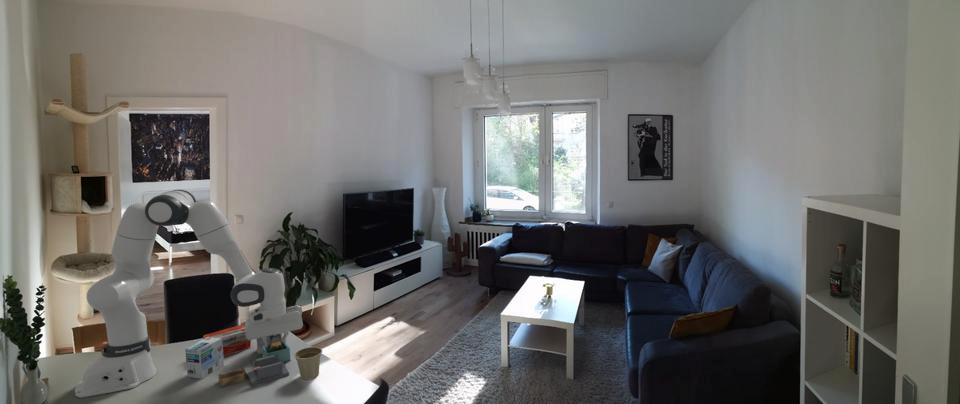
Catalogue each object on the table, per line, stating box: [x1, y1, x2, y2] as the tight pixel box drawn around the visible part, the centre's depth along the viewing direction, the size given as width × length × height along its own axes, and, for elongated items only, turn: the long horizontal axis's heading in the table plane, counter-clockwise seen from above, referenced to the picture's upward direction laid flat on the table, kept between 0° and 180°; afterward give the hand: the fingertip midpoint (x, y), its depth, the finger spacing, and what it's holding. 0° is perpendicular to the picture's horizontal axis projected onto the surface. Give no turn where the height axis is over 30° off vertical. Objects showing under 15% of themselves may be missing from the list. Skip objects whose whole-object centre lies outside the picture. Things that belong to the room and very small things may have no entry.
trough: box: [218, 367, 248, 388], centre depth 159 cm, size 8×5×2 cm, turn 125°
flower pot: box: [293, 346, 323, 380], centre depth 162 cm, size 9×9×9 cm
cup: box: [262, 342, 291, 364], centre depth 175 cm, size 8×8×5 cm
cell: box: [269, 334, 282, 352], centre depth 174 cm, size 4×4×8 cm
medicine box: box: [202, 324, 252, 357], centre depth 183 cm, size 15×8×8 cm, turn 137°
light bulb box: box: [184, 337, 225, 379], centre depth 166 cm, size 11×7×11 cm, turn 169°
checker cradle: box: [247, 355, 290, 386], centre depth 163 cm, size 12×9×5 cm
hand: (275, 344), depth 174 cm, fingers open, 4 cm apart
